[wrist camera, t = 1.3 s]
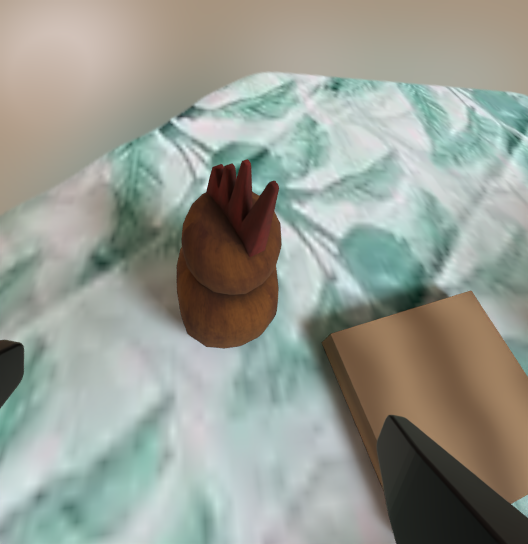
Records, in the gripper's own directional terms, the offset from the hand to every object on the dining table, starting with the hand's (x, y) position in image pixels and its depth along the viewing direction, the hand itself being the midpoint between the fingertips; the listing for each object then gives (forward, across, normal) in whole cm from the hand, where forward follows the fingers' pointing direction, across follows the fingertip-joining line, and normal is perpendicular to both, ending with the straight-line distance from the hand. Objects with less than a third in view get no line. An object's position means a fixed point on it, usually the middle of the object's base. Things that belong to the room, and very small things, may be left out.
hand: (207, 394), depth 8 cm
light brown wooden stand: (+13, -15, +7) cm, 21 cm away
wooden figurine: (+15, +1, +5) cm, 16 cm away
